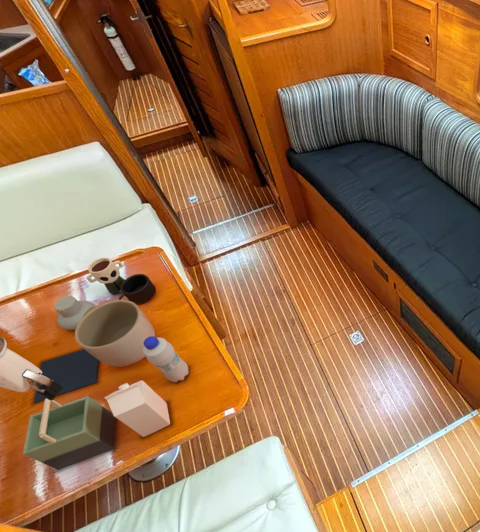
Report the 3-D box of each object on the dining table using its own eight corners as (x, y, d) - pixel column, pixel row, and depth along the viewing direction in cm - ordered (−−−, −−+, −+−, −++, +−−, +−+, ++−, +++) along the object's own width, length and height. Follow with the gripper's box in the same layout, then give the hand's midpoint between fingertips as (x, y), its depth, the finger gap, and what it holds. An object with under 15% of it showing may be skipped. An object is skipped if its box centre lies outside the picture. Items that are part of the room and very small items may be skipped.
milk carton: (170, 424, 110) (137, 396, 96) (143, 437, 108) (105, 410, 94) (167, 403, 114) (134, 372, 100) (140, 415, 112) (103, 385, 98)
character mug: (107, 303, 138) (86, 279, 128) (100, 292, 141) (78, 268, 131) (139, 285, 143) (120, 261, 133) (131, 275, 146) (112, 251, 137)
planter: (104, 383, 118) (73, 358, 107) (103, 339, 128) (75, 312, 117) (164, 360, 123) (141, 333, 112) (159, 319, 133) (137, 291, 122)
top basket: (41, 462, 97) (6, 447, 89) (47, 424, 103) (15, 407, 95) (100, 440, 101) (72, 424, 92) (102, 405, 107) (76, 387, 98)
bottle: (164, 374, 120) (131, 340, 105) (185, 360, 123) (156, 325, 108) (173, 389, 117) (141, 356, 102) (195, 374, 120) (166, 340, 105)
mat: (34, 403, 114) (33, 402, 114) (42, 362, 122) (41, 362, 122) (96, 382, 118) (96, 382, 118) (99, 345, 127) (99, 344, 126)
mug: (146, 282, 144) (136, 270, 139) (163, 292, 141) (154, 279, 136) (117, 306, 137) (106, 293, 132) (134, 316, 134) (124, 304, 129)
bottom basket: (57, 469, 102) (41, 462, 97) (62, 433, 108) (47, 424, 103) (113, 449, 106) (99, 441, 101) (115, 415, 112) (102, 405, 107)
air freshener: (83, 335, 129) (64, 317, 122) (60, 332, 130) (39, 315, 122) (103, 308, 136) (87, 290, 129) (81, 306, 137) (63, 288, 130)
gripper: (-79, 357, 74) (-9, 396, 86) (-3, 378, 71) (57, 414, 84) (-41, 324, 78) (20, 365, 91) (32, 342, 76) (84, 382, 89)
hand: (38, 389), depth 88 cm, fingers open, 9 cm apart
